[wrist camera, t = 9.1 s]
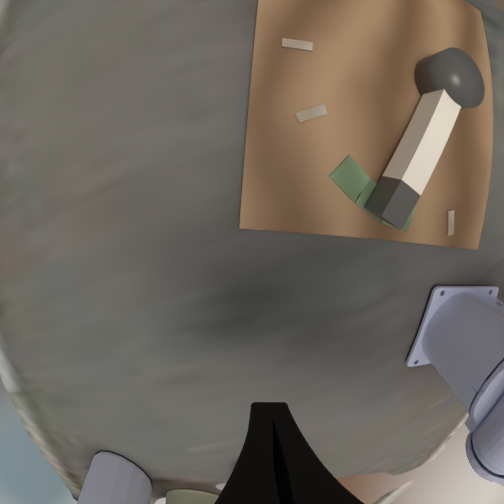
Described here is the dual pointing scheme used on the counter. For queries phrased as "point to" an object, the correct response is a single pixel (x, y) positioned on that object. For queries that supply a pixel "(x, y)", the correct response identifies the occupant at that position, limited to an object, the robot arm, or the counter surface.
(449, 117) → the peg
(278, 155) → the board
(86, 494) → the soap bottle
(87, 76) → the counter surface
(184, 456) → the counter surface
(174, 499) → the can
